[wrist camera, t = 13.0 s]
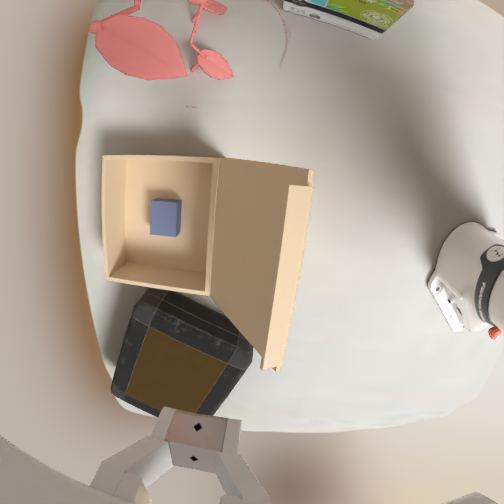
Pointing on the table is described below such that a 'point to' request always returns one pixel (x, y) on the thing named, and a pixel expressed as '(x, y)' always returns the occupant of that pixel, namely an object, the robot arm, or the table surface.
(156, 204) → the dark blue rectangular block
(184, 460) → the robot arm
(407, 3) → the tea box
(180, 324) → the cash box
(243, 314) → the lid
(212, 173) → the mailer box
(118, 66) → the figurine
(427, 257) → the table surface
